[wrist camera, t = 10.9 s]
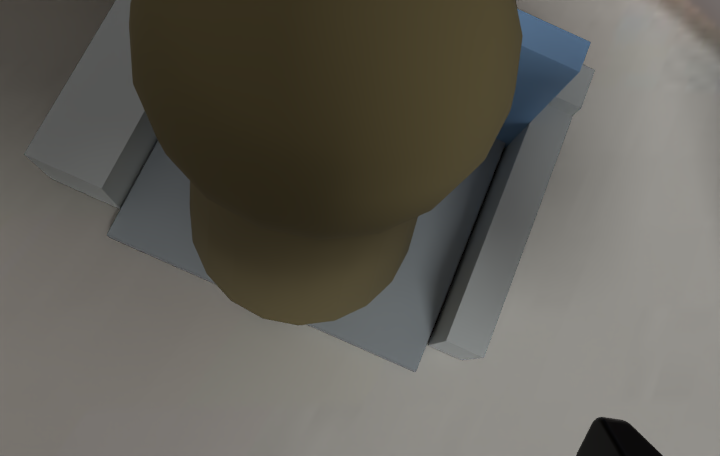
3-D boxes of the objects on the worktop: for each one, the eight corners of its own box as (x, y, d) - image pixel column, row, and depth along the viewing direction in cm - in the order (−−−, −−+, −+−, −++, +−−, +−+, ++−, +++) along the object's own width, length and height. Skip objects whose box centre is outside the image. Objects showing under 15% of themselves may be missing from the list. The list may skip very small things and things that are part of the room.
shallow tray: (451, 388, 18) (515, 390, 13) (-319, 48, 18) (-548, -79, 13) (556, 107, 20) (645, 20, 15) (-125, -201, 20) (-255, -390, 15)
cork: (270, 371, 17) (256, 357, 7) (145, 180, 18) (-51, -116, 7) (456, 244, 19) (697, 60, 8) (333, 70, 19) (401, -314, 9)
